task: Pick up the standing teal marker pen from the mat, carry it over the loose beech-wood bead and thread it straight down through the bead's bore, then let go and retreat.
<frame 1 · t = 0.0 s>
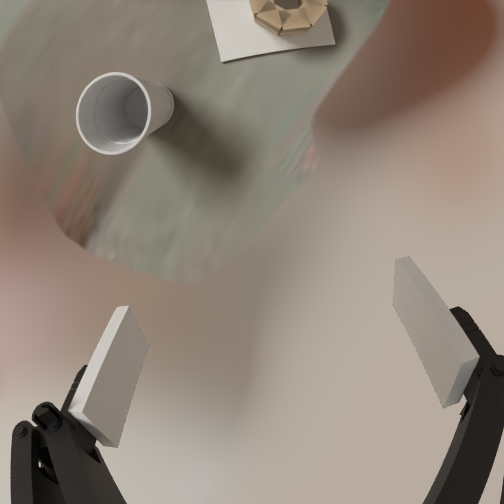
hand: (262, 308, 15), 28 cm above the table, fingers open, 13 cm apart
bead: (285, 5, 29), resting on mat
cup: (150, 105, 35), on the table
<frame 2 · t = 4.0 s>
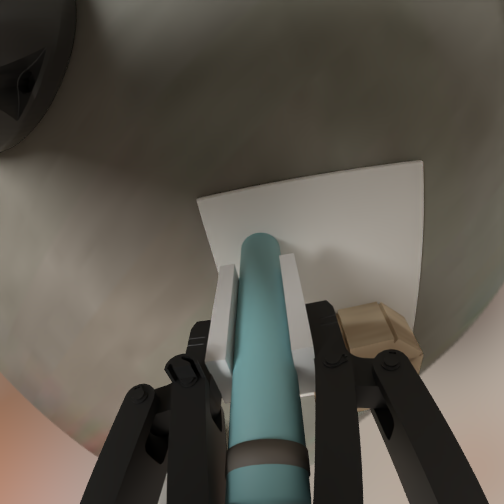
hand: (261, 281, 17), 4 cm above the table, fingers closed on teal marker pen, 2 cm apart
teal marker pen: (260, 250, 20), resting on mat, touching gripper
bead: (357, 344, 24), resting on mat
mat: (330, 308, 22), on the table
when the fingers open (6 cm above the table, at t = 8.4 s): teal marker pen drops 1 cm, resting on mat.
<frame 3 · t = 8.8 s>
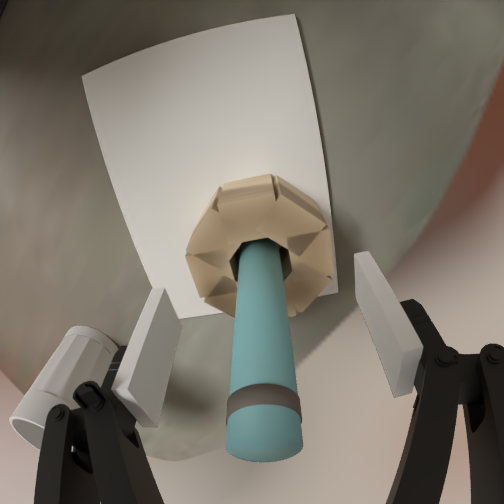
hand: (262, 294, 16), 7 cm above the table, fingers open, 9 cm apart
teal marker pen: (259, 236, 22), resting on mat
bead: (259, 235, 22), resting on mat
mat: (217, 184, 20), on the table
cup: (93, 347, 28), on the table
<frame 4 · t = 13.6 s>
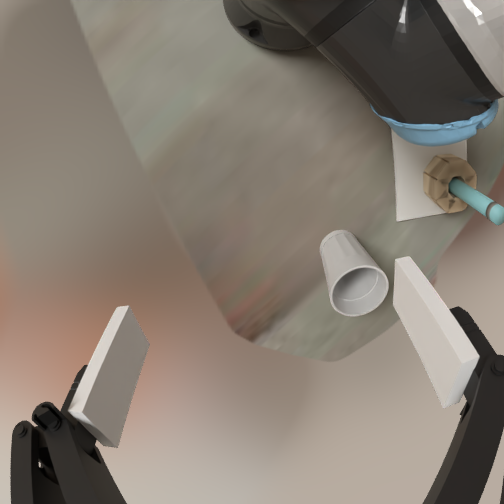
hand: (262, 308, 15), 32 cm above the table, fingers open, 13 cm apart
teal marker pen: (443, 179, 42), resting on mat
bead: (443, 179, 42), resting on mat
mat: (432, 155, 41), on the table
cup: (338, 247, 49), on the table
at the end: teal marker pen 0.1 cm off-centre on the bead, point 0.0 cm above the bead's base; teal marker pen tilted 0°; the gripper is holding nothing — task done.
